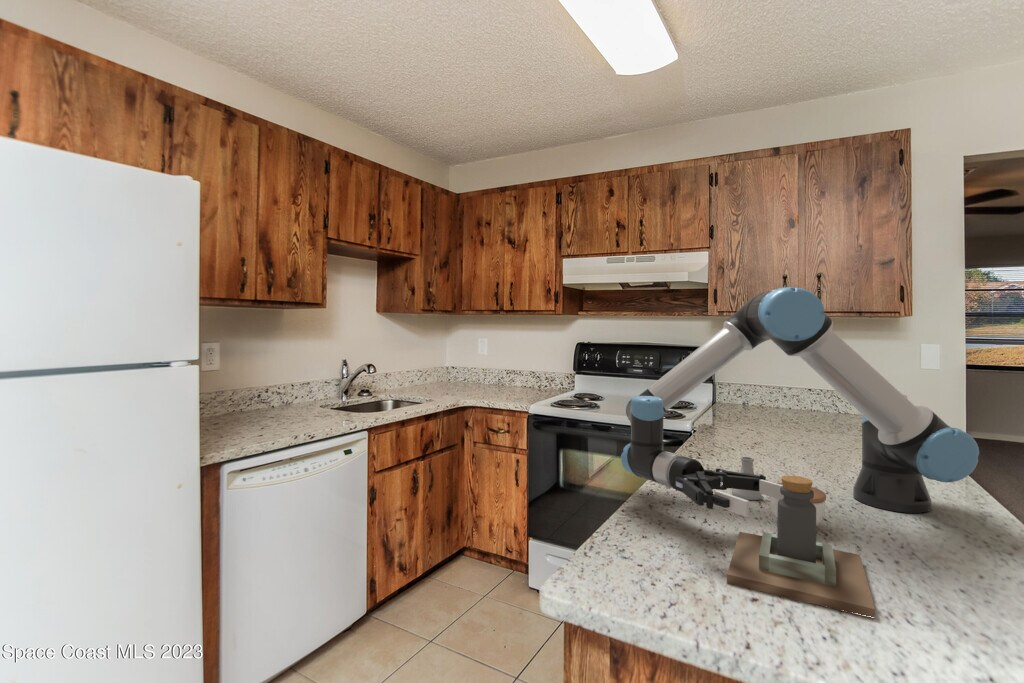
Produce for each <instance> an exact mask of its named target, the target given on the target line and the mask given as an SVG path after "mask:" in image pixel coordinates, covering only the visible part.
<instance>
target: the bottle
mask: <svg viewBox="0 0 1024 683" xmlns="http://www.w3.org/2000/svg"><path fill="white" fill-rule="evenodd" d="M781 483H783V486H781V487H780V493H781V494H782V495H784V498H782V499H780V500H779V501H778V518H776V520H777V522H776V523H777V530H776V531H777V534H776V535H777V555H778V556H783V557H788V558H793V559H798V560H802V561H807V562H812V563H816V542H817V525H816V507H815V505H813V504H812V503H811V502H810V499H813V498H814V492H813V491H812V490H811V487H813V480H812V479H810V478H807V477H805V476H798V475H790V474H789V475H782V476H781Z"/></svg>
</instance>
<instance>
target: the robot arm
mask: <svg viewBox="0 0 1024 683" xmlns="http://www.w3.org/2000/svg"><path fill="white" fill-rule="evenodd" d="M722 327H723V328H722V329H720V330H719V331H717V333H716V334H714V335H713V336H711V337H710V338H709V339H708V340H706V341H705V342H704V343H703V344H701V345H700V346H699V347H697V348H696V349H695V350H694V351H693V352H691V353H690V354H689V355H688V356H686V357H685V358H684V359H683V360H681V361H680V362H679V363H678V364H677V365H675V366H674V367H673V368H672V369H670V370H669V371H668V372H667V373H665V374H664V375H663V376H661V377H660V378H659V379H658V380H656V381H655V382H654V383H652V384H651V385H650V386H649V387H648V388H647V389H646V390H644V391H642V392H641V393H640V394H638V395H636V396H632V398H630V399H629V400H628V402H627V403H626V408H625V414H626V417H627V420H628V421H629V423H630V442H629V443H628V444H626V445H625V446H624V447H623V449H622V450H623V451H622V453H620V454H621V455H620V462H621V466H622V467H623V469H624V470H625V471H627V472H628V473H629V474H633V475H634V476H636V477H638V478H643V479H645V480H648V481H651V482H654V483H657V484H659V485H662V486H665V487H666V488H667V490H668V489H673V490H675V491H678V492H681V493H682V494H684V495H685V496H686V497H687V498H688V499H690V500H691V501H692V502H694V503H695V504H696V505H698V506H700V507H701V506H704V505H705V504H706V509H708V510H713V509H714V506H715V507H718V508H721V509H724V510H725V511H726V510H727V511H730V512H732V513H734V514H737V515H740V516H742V517H746V518H747V517H750V500H747V499H742V498H739V497H736V496H734V495H732V494H730V493H727V492H723V491H726V490H727V489H732V490H733V489H742V490H751V491H759V493H760V494H761V495H762V496H764V495H765V496H768V497H769V498H770V497H773V498H776V499H779V500H780V499H782V498H784V495H782V494H781V493H780V487H781V486H783V485H780V484H776V483H777V482H772V481H768V480H767V476H764V474H759V475H758V474H754V475H753V474H746V473H740V471H738V472H737V471H731V470H726V469H722V468H715V471H714V470H712V469H705V468H704V467H703V465H702V463H701V462H700V461H699V460H697V459H695V458H690V457H688V456H683V455H682V454H677V453H673V452H670V451H666V450H664V419H665V418H664V417H665V416H664V415H665V413H666V412H667V411H669V410H670V409H671V408H672V407H674V406H675V405H676V404H677V403H678V402H679V401H681V400H683V399H684V398H685V397H687V395H689V394H690V393H692V392H693V391H694V390H695V389H696V388H698V387H699V386H700V385H702V384H703V383H705V382H706V380H708V379H710V378H711V377H712V376H713V375H714V374H716V373H717V372H718V371H720V370H721V369H722V368H724V366H726V365H728V364H729V363H730V362H731V361H732V360H734V359H735V358H736V357H738V356H739V355H740V354H742V353H743V352H744V351H752V350H754V349H755V348H756V347H758V346H759V345H761V344H763V343H764V342H766V341H769V340H770V341H772V342H773V344H775V345H776V346H777V347H778V348H779V349H780V350H782V351H783V352H784V353H785V354H786V355H787V356H789V357H799V358H801V359H802V360H803V361H804V362H805V364H807V365H808V366H809V367H810V368H811V369H812V370H813V371H815V372H816V373H817V374H818V375H819V376H820V377H821V378H822V379H823V380H824V381H825V382H827V384H829V385H830V387H831V388H833V390H835V391H836V392H837V393H838V394H839V395H841V397H843V398H844V400H846V401H847V402H848V403H849V404H850V405H851V406H853V407H854V409H856V411H858V412H859V413H860V414H861V415H862V420H861V429H862V431H861V439H862V440H861V441H862V442H861V445H862V446H861V455H862V456H861V460H862V461H861V469H860V471H859V473H858V476H857V478H856V480H855V483H854V485H853V489H852V490H853V493H852V494H853V495H852V496H853V498H854V499H855V500H857V501H858V502H861V503H863V504H865V505H868V506H870V507H874V508H877V509H882V510H886V511H891V512H897V513H905V514H907V513H908V514H923V513H922V512H925V513H928V512H927V511H929V512H931V511H932V498H931V496H930V493H929V490H928V488H927V486H926V485H927V484H926V483H925V480H924V478H923V477H925V478H926V479H928V480H932V481H935V482H941V483H956V482H959V481H962V480H963V479H965V478H967V477H969V475H971V474H972V473H973V471H975V469H976V467H977V466H978V463H979V455H980V449H979V445H978V443H977V442H976V440H975V439H974V437H972V436H971V435H970V434H968V432H966V431H963V430H962V429H960V428H957V427H951V426H950V425H948V424H947V423H946V422H945V421H944V420H943V419H941V417H939V415H937V414H936V413H935V412H934V411H932V410H931V409H930V407H927V406H923V405H914V403H912V402H911V401H910V400H909V399H908V398H907V397H906V396H905V395H903V393H901V391H899V390H898V389H897V388H896V387H895V386H894V385H892V384H891V383H890V382H889V380H888V379H886V378H885V377H884V376H883V375H882V374H881V373H879V372H878V370H876V369H875V368H874V367H873V366H872V365H871V364H870V363H869V362H868V361H866V360H865V359H864V358H863V357H862V356H861V355H859V353H857V352H856V351H855V350H854V349H853V348H852V347H851V346H850V345H849V344H847V342H846V341H844V340H843V339H842V338H841V336H839V335H838V334H837V333H836V332H834V331H833V329H834V328H833V327H834V321H833V320H832V319H831V317H829V316H828V315H827V314H826V313H825V306H824V304H823V302H822V300H821V299H820V298H819V297H818V296H817V295H816V294H815V293H813V292H811V291H810V290H807V289H805V288H800V287H794V286H785V287H784V286H783V287H779V288H776V289H773V290H770V291H765V292H761V293H758V294H757V295H755V296H753V297H752V298H750V299H748V300H747V302H746V303H744V304H743V305H742V306H741V307H740V308H739V309H738V310H737V311H736V312H735V313H733V314H732V315H731V316H730V317H729V318H728V319H726V320H725V321H724V322H723V326H722ZM721 483H722V484H721ZM713 490H714V491H713Z"/></svg>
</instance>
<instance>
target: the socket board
mask: <svg viewBox="0 0 1024 683" xmlns="http://www.w3.org/2000/svg"><path fill="white" fill-rule="evenodd" d="M736 539H737V540H736V542H735V545H734V549H733V552H732V556H731V560H730V562H729V567H728V570H727V572H726V573H727V574H726V584H730V585H733V586H734V585H735V586H739V587H742V588H746V587H747V589H751V590H755V591H759V592H764V593H766V594H770V595H773V596H774V595H775V596H779V597H782V596H783V598H786V599H791V600H795V601H799V602H804V603H807V602H808V603H807V604H811V603H814V604H813V605H815V604H818V605H817V606H819V605H822V606H821V607H823V606H827V607H830V608H829V609H831V608H834V609H833V610H835V609H838V610H837V611H839V610H844V611H847V612H846V613H848V612H853V613H858V614H861V615H866V616H871V617H875V618H876V608H875V604H874V600H873V597H872V593H871V590H870V587H869V583H868V579H867V575H866V571H865V567H864V564H863V561H862V557H861V555H860V554H858V553H854V552H849V551H848V552H847V551H842V550H836V549H834V548H833V544H830V543H829V544H828V543H825V542H824V543H823V542H817V541H816V563H812V562H807V561H802V560H798V559H793V558H788V557H783V556H778V555H777V534H775V533H770V532H766V531H765V532H764V531H763V532H762V535H759V534H755V533H750V532H744V531H739V532H738V534H737V538H736ZM827 607H826V608H827Z"/></svg>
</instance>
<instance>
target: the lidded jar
mask: <svg viewBox="0 0 1024 683" xmlns="http://www.w3.org/2000/svg"><path fill="white" fill-rule="evenodd" d="M775 483H776V484H780V485H783V483H782V482H775ZM811 490H812V491H813V492H814V498H813V499H810V502H811V503H812V504H813V505H815V507H816V526H818V525H819V524H820V523H821V521H822V520H823V518H824V515H825V512H826V511H825V510H826V500H827V495H826V493H825V492H824V491H822V490H821V489H819V488H817V487H813V486H812V487H811ZM778 501H779V499H776V498H773V497H770V496H769V504H770V509H771V511H772V513H773V515H774V517H775V518H776V519H777V518H778Z"/></svg>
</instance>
